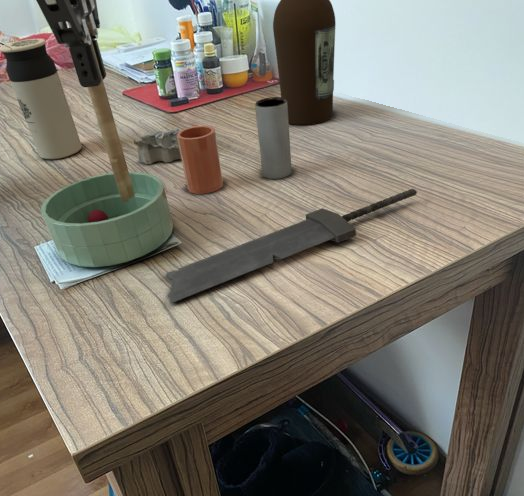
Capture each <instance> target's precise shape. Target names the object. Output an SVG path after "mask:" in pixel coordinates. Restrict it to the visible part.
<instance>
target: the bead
mask: <svg viewBox="0 0 524 496" xmlns="http://www.w3.org/2000/svg"><path fill="white" fill-rule="evenodd" d="M104 220H108V216H107V215H106V213H105V212H103V211H101V210H94V211H92V212H91V213H90V214H89V216H88V222H89V223H91V222H100V221H104Z"/></svg>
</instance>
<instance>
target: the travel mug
mask: <svg viewBox="0 0 524 496" xmlns="http://www.w3.org/2000/svg"><path fill="white" fill-rule="evenodd" d="M46 43H47V41H46V39H45V38H28V39H22V40H17V41H13V42H9V43H5V44H3V45H1V46H0V52H2V54H3V56H4V58H5V60H6V66H5V71H6V75H7V78H8V79H9V82H10V85H11V87H12V89H13V92H14V95H15V98H16V100H17V102H18V105H19V108H20V111H21V112H22V116H23V118H24V121H25V123H26V126H27V129H28V131H29V133H30V136H31V138H32V141H33V143H34V147H35V149H36V152H37V154H38V157H40V158H42V159H45V160H59V159H65V158H67V157H71V156H73V155H75V154H76V153H78V152H79V151H80V150H81V149H82V147H83V145H82V142H81V139H80V135H79V133H78V131H77V127H76V123H75V121H74V118H73V115H72V111H71V109H70V106H69V102H68V100H67V97H66V94H65V90H64V88H63V85H62V81H61V78H60V75H59V73H58V68H57V66H56V63H55V61H54V60H53V58H52V57H51V56H50V55H49V54H48V52H47V48H46V47H47V46H46Z"/></svg>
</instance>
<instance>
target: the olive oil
mask: <svg viewBox="0 0 524 496" xmlns="http://www.w3.org/2000/svg"><path fill="white" fill-rule="evenodd" d="M336 24H337V23H336V14H335V10H334V8H333V4H332V2H331V0H280V1H279V2H278V4H277V6H276V7H275V10H274V15H273V20H272V30H273V38H274V48H275V55H276V63H277V73H278V81H279V90H280V91H279V92H280V97H281V98H285V99H286V100H287V107H288V122H289V125H290V124H291V125H295V126H296V125H297V126H308V125H315V124H320V123H323V122H326V121H328V120H330V119H331V118H332V117H333V113H334V91H335V80H334V75H335V74H334V73H335V48H336V47H335V45H336V43H335V42H336V26H337V25H336Z"/></svg>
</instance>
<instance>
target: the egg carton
mask: <svg viewBox="0 0 524 496" xmlns="http://www.w3.org/2000/svg"><path fill="white" fill-rule="evenodd" d="M196 126H199V125H196ZM184 129H186V127H185V128H182V129H180V128H177V127H176V128H175V129H170V130H169V129H168V130H165V131H163V130H156V129H153V130H149V131H148V132H147V133H145V134H144V135H143V136H141V138H140V139H137V140H133V145H135V146H136V150H137V154H138V157H139V162H140V163H143V164H145V165H151V164H154V163H155V162H164V163H171V162H174V161H176V160H182V159H181V154H180V149H179V145H178V140H177V133H178V132H180V131H181V130H184Z"/></svg>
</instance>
